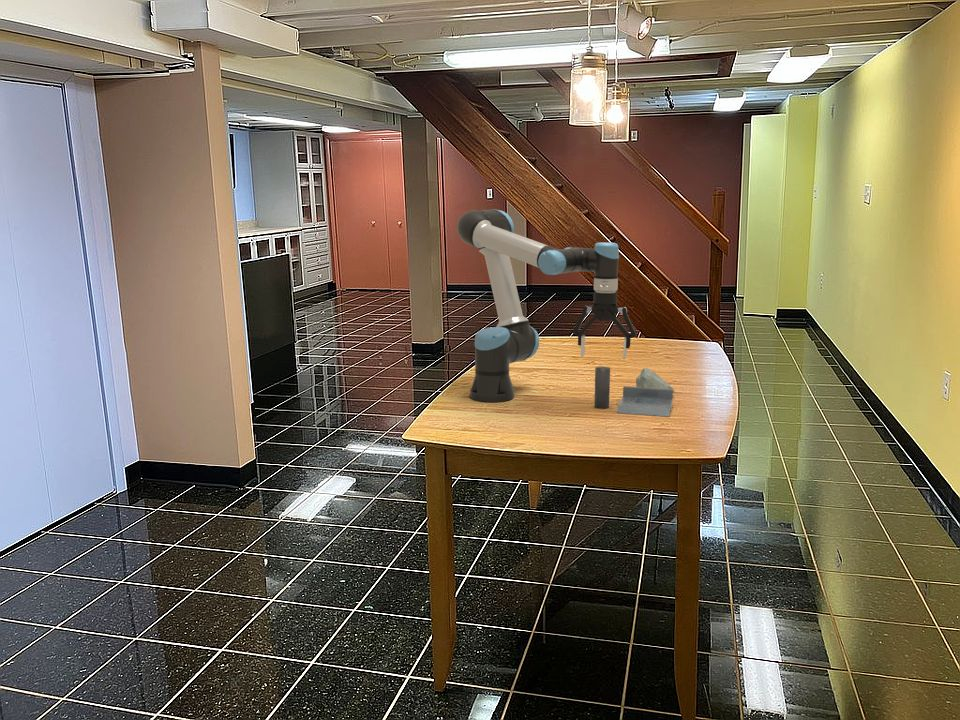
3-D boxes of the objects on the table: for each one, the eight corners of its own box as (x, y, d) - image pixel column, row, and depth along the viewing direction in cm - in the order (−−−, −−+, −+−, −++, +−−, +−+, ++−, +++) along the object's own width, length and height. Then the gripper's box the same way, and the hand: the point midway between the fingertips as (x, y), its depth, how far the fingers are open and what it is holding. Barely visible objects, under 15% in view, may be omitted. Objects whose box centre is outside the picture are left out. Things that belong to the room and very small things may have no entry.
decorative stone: (627, 396, 279) (641, 376, 272) (633, 379, 287) (647, 359, 281) (660, 415, 278) (675, 396, 272) (665, 397, 287) (680, 378, 280)
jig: (617, 412, 258) (618, 396, 257) (623, 402, 271) (623, 386, 270) (668, 416, 253) (669, 399, 252) (672, 405, 266) (673, 389, 265)
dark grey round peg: (593, 408, 264) (594, 369, 261) (595, 404, 268) (596, 366, 266) (607, 409, 262) (609, 369, 260) (610, 405, 267) (611, 366, 264)
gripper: (564, 291, 258) (563, 356, 262) (644, 294, 251) (641, 361, 255) (568, 288, 265) (567, 352, 269) (646, 291, 258) (643, 356, 262)
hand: (603, 357), depth 262 cm, fingers open, 13 cm apart
